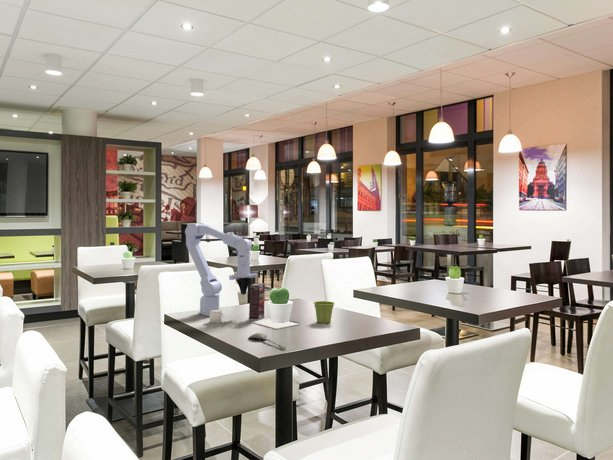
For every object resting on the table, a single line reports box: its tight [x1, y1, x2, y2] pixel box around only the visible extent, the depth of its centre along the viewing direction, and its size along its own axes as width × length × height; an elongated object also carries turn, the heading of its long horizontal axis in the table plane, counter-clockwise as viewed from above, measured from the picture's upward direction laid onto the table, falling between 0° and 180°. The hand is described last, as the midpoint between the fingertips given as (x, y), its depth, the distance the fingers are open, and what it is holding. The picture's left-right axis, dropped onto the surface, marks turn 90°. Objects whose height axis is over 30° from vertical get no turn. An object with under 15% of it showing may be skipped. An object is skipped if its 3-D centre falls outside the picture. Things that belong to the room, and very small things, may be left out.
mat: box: [250, 318, 300, 330], centre depth 212 cm, size 17×13×1 cm
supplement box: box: [248, 282, 266, 322], centre depth 222 cm, size 9×5×16 cm, turn 167°
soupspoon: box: [248, 332, 287, 351], centre depth 180 cm, size 22×3×7 cm
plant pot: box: [313, 300, 335, 324], centre depth 217 cm, size 9×9×9 cm
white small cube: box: [209, 309, 223, 324], centre depth 214 cm, size 5×5×5 cm
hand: (243, 294), depth 226 cm, fingers closed
